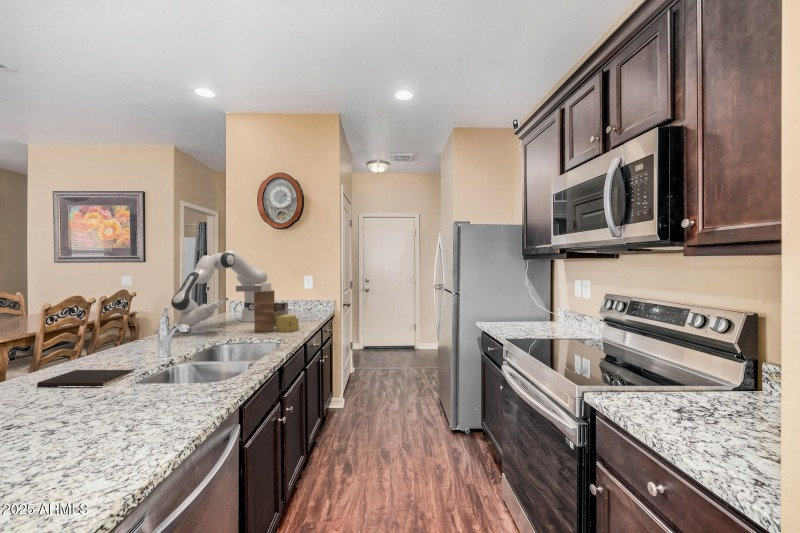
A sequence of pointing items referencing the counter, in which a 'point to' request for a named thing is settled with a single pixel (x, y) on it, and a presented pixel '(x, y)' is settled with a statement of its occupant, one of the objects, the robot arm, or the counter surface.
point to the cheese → (287, 323)
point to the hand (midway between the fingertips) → (227, 299)
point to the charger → (254, 287)
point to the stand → (263, 311)
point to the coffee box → (280, 310)
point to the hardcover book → (85, 378)
